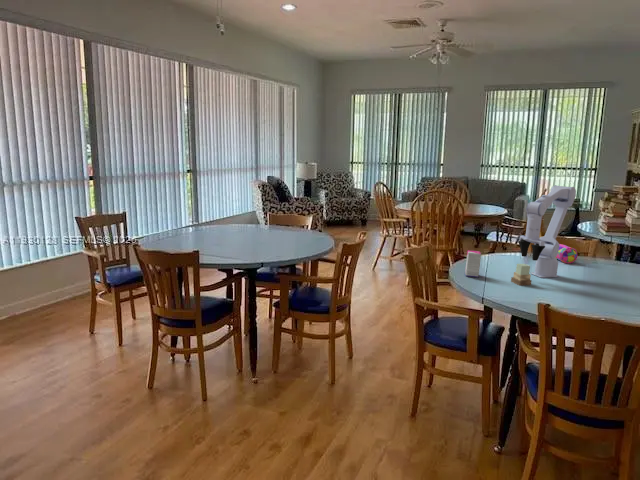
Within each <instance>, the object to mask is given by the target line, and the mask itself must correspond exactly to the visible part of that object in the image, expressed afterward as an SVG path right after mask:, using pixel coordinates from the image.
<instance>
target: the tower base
mask: <svg viewBox="0 0 640 480" xmlns="http://www.w3.org/2000/svg"><path fill="white" fill-rule="evenodd" d="M510 282H511V283H513V284H515V285H517V286H519V287H520V286H532V282H533V281H532V280H531V279H530V280H521V281H520V280H518V279H516V278H514V276H512V277H511V278H510Z"/></svg>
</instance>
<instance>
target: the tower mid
mask: <svg viewBox="0 0 640 480" xmlns="http://www.w3.org/2000/svg"><path fill="white" fill-rule="evenodd" d="M531 276H532V274H531V273H529V275H520V274H518V273H516V271H514V272H513V277H514V278H516V279H518V280H520V281H521V280H531Z"/></svg>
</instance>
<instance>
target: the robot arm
mask: <svg viewBox="0 0 640 480" xmlns="http://www.w3.org/2000/svg"><path fill="white" fill-rule="evenodd" d="M576 189H577V188H576V187H574V186H566V185H565V186H563V185H556V184H554V185H553V186H551V189H550V191H549V193H548V194H542V195H541V196H540V197H538V198H537V199H536V200H535V201H530V202H528V203H527V205H526V208H525V211H526V218H527V220H526V221H527V222H526V229H525V230H526V231H525V235H519V240H517V243H518V244H519V248H520V253H521V257H522V258H523V257H527V256H528V252H529V248H530V245H531V249H532V261H535V266H534V271H533V272H530V271H529V274H530V275H534V276H535V277H539V278H541V279H542V278H558V277H559V276H558V269H559V260H557V259H556V258H555V257H556V256H557V255H558V251H559V246H560V245H559V244H560V243H559V241H558V240H557V237H558V234H559V232H560V230H561V227H562V224H563V222H564V219H565V217H566V214H567V212H568V211H569V210H568V209H569V208H570V207H572V206H573V204H574V202H575V199H576V197H577V190H576ZM552 205H554V206H555V210H554V212H553V213H552V216H551V219H550V222H549V224H548V227H547V229H546V232H545V234H544V236H541V237H540V234H541V226H542V219H543V216H544V215H545V213H546V211H547V209H548V208H550V207H551V206H552Z"/></svg>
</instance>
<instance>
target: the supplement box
mask: <svg viewBox="0 0 640 480" xmlns="http://www.w3.org/2000/svg"><path fill="white" fill-rule="evenodd" d="M466 253H467V254H466V260H465V261H466V262H465V267H464V268H465V269H464V270H465V271H464V275H465V278H477V279H478V278H479V275H480V266H481V257H482V253H481V251H477V250H467V251H466Z"/></svg>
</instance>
